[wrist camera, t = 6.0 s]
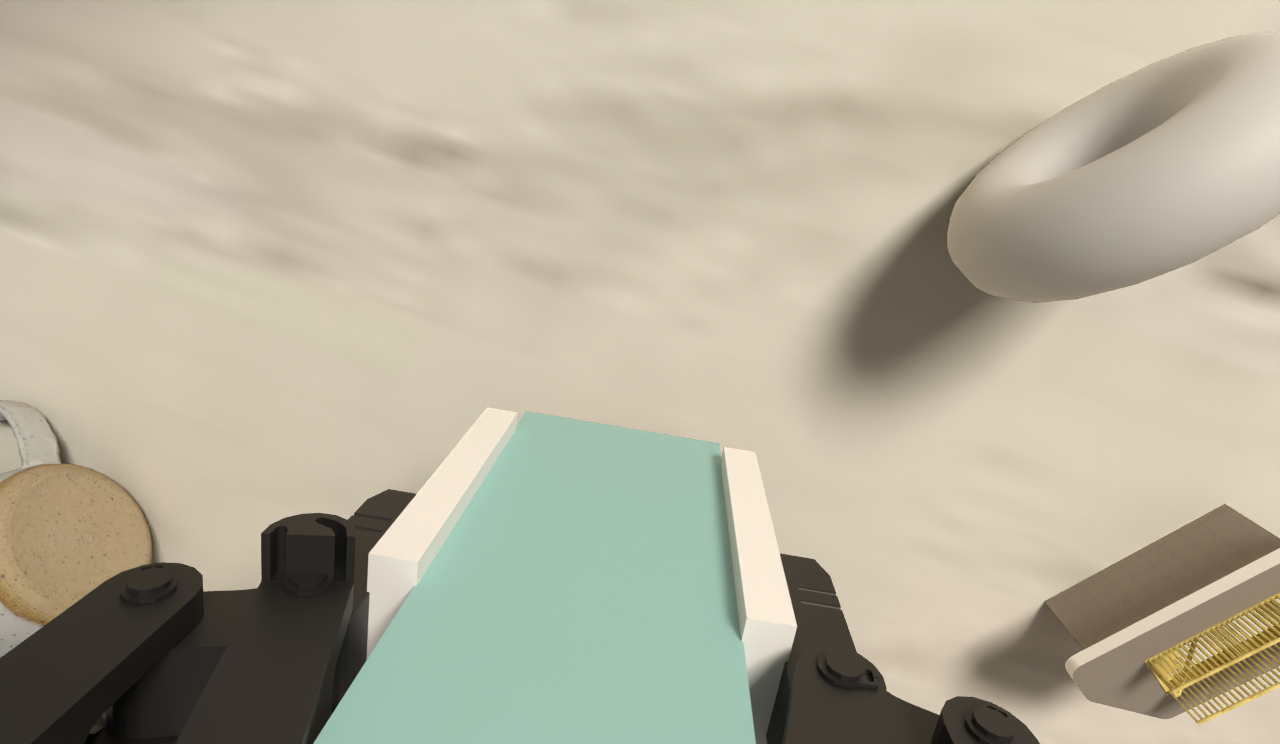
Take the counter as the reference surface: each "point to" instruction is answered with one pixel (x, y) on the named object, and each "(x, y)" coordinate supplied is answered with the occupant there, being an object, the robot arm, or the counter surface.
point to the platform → (1178, 619)
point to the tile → (569, 605)
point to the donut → (1129, 178)
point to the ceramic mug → (58, 530)
